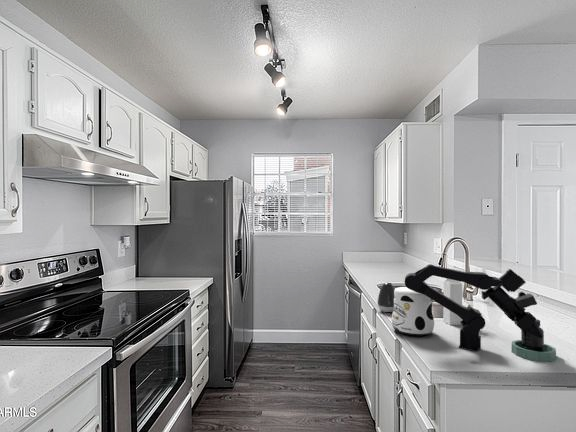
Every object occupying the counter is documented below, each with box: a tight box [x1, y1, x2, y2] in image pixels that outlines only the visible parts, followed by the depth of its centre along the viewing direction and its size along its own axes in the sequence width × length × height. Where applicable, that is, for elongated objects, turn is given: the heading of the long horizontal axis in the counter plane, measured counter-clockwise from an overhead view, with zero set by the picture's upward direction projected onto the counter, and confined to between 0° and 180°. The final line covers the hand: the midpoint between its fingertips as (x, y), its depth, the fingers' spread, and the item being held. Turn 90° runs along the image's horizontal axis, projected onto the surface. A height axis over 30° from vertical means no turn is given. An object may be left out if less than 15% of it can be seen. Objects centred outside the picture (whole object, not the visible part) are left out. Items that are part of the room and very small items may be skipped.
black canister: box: [377, 282, 395, 313], centre depth 192 cm, size 10×10×15 cm
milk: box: [442, 278, 463, 326], centre depth 172 cm, size 6×6×22 cm
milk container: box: [391, 286, 435, 337], centre depth 157 cm, size 17×17×18 cm
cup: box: [511, 339, 557, 363], centre depth 132 cm, size 13×13×3 cm
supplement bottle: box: [520, 318, 545, 352], centre depth 133 cm, size 7×7×12 cm
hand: (537, 333), depth 132 cm, fingers open, 9 cm apart
